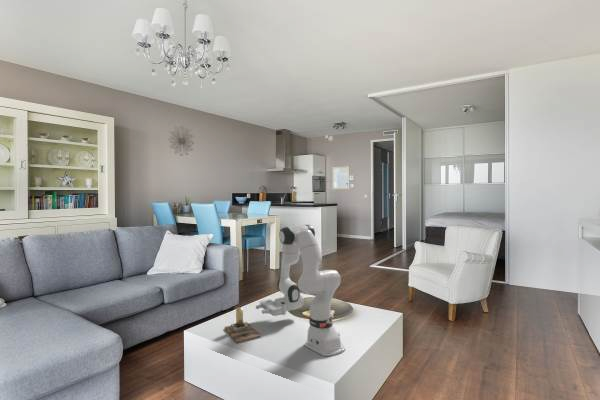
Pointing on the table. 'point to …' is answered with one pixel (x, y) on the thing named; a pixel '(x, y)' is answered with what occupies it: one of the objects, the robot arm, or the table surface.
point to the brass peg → (239, 317)
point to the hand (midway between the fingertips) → (259, 309)
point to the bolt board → (242, 332)
